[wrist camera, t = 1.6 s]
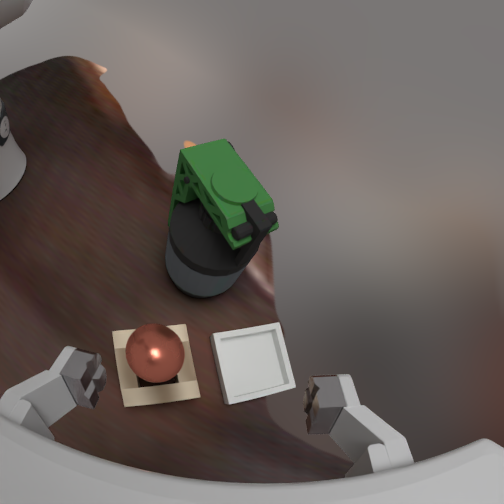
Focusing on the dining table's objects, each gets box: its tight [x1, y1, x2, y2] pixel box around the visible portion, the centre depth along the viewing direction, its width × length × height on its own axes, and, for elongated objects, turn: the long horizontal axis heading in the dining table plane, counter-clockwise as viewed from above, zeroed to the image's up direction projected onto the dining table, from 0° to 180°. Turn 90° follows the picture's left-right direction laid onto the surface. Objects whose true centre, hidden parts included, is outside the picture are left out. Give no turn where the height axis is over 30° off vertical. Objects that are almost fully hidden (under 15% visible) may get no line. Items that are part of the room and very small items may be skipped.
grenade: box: [165, 139, 279, 298], centre depth 35 cm, size 11×13×20 cm
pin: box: [125, 324, 185, 383], centre depth 27 cm, size 5×5×17 cm
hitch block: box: [112, 324, 200, 407], centre depth 32 cm, size 9×9×5 cm
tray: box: [210, 323, 296, 404], centre depth 38 cm, size 10×10×2 cm
